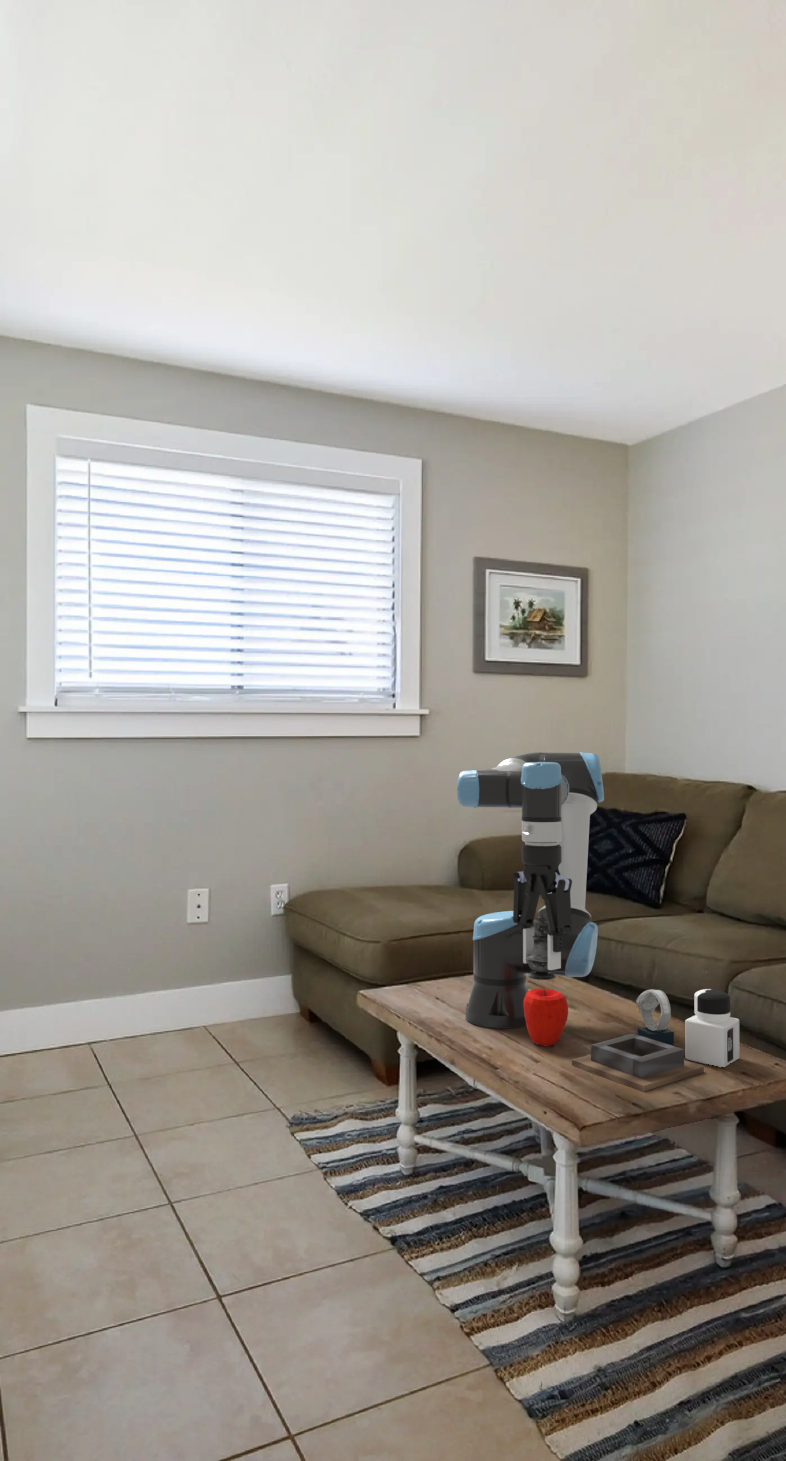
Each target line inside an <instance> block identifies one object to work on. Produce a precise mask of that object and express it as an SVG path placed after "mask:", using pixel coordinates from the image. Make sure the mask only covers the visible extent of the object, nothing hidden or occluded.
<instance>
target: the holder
mask: <svg viewBox="0 0 786 1461" xmlns="http://www.w3.org/2000/svg"><path fill="white" fill-rule="evenodd" d="M571 1065H572V1066H573V1067H576V1068H579V1069H582V1070H584V1071H586V1072H589V1073H592V1074H594V1075H597V1076H600V1077H604V1078H606V1079H608V1080H610V1081H615V1082H617V1083H619V1084H623V1085H624V1086H627V1087H631V1088H633V1089H636V1090H639V1091H641V1092H647V1091H650V1090H652V1089H656V1088H659V1087H662V1086H666V1085H668V1084H671V1083H672V1084H673V1083H675V1082H677V1081H680V1080H684V1079H687V1078H689V1077H692V1076H696V1075H699V1074H701V1072H702V1073H704V1072H705V1066H703V1065H701V1064H697V1063H695V1062H692V1061H691V1062H690V1061H689V1060H685V1048H681V1047H677V1046H675V1045H674V1046H672V1045H669V1044H665V1043H662V1042H659V1041H656V1040H652V1039H649V1038H646V1037H643V1036H640V1035H638V1034H636V1033H630V1034H626V1035H622V1036H619V1037H618V1036H617V1037H615V1038H611V1039H607V1040H603V1041H599V1042H596V1043H592V1044H590V1054H588V1055H584V1056H580V1057H577V1058H573V1059H572V1060H571ZM698 1073H699V1074H698Z"/></svg>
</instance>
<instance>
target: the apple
mask: <svg viewBox="0 0 786 1461" xmlns="http://www.w3.org/2000/svg"><path fill="white" fill-rule="evenodd" d="M523 1005H524V1014H525V1020H526V1029H527V1033H528V1035H529V1038H530V1040H531V1041H532V1042H533V1043H534V1044H535V1045H538V1046H543V1047H551V1046H553V1045H555V1044H557V1043H558V1041H560V1038H561V1036H562V1033H563V1031H564V1029H565V1026H566V1025H567V1024H566V1023H567V1021H568V1016H569V1004H568V1001H567V999H566V997H565V995H564V994H563V993H561V992H560V991H557V990H556V989H548V988H533V989H530V990H528V992H527V993H526V995H525V998H524V1003H523Z"/></svg>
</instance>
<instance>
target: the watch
mask: <svg viewBox="0 0 786 1461" xmlns="http://www.w3.org/2000/svg"><path fill="white" fill-rule="evenodd" d="M635 1002H636V1004H637V1007H638V1012H639V1013H640V1015H641V1018H642V1022H643V1024H644V1025H645V1027H637V1035H640V1036H643V1037H646V1038H649V1039H652V1040H656V1041H659V1042H662V1043H665V1044H669V1045H672V1046H675V1034H674V1033H675V1032H674V1031H673V1030H671V1029H669V1028H668V1027H669V1025H670V1022H671V1018H672V1014H671V1013H672V1012H671V1011H672V1010H671V1004H670V1000H669V998H668V996H667V995H666V993H665V992H664V991H663V990H660V989H654V988H652V989H647V990H644V991H643V992H642V993H640V995H638V997H637V999H636V1000H635ZM658 1006H660V1014H659V1016H658V1021H657V1023H655V1020H654V1017H653V1013H654V1012H655V1010H656V1008H657V1007H658Z"/></svg>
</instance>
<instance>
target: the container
mask: <svg viewBox="0 0 786 1461" xmlns="http://www.w3.org/2000/svg"><path fill="white" fill-rule="evenodd" d="M693 1011H694V1012H693V1013H694V1014H695V1015H692V1016H691V1017H689V1018H687V1019H685V1021H684V1023H685V1024H684V1030H685V1031H684V1033H685V1034H684V1036H685V1037H684V1038H685V1039H684V1043H685V1045H684V1046H685V1047H684V1059H686V1061H691V1062H694V1063H695V1062H696V1063H699V1064H700V1063H701V1064H704V1065H708V1064H709V1065H708V1066H712V1065H714V1066H713V1067H716V1066H718V1067H717V1068H721V1067H724V1068H726V1067H727V1066H729V1065H731V1064H732V1063H733V1062H735V1061H737V1060H738V1059H740V1019H739V1018H736V1017H731V996H730V995H729V994H728V993H726V992H725V991H722V990H719V989H713V988H705V989H704V988H703V989H700V990H698V991H696V992H695V993H694V1010H693ZM730 1063H731V1064H730Z"/></svg>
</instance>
